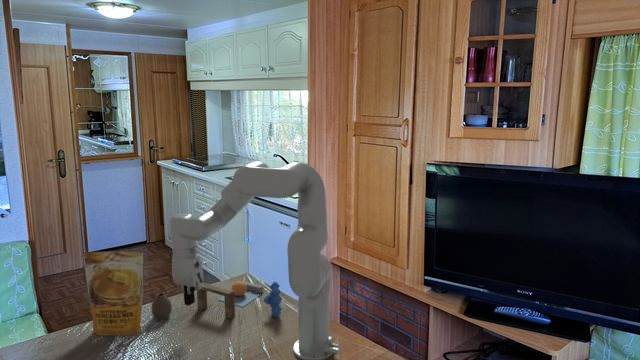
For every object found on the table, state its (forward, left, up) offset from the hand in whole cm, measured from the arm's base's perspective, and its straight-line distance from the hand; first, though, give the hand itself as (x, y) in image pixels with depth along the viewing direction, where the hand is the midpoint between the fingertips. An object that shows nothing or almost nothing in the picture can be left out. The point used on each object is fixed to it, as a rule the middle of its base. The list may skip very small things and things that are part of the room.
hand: (189, 303), depth 152 cm
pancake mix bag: (+21, +12, -10) cm, 26 cm away
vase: (+16, -2, -10) cm, 19 cm away
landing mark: (+1, -28, -10) cm, 30 cm away
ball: (+2, -29, -7) cm, 30 cm away
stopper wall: (+1, -35, -10) cm, 37 cm away
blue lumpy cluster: (-18, -23, -10) cm, 31 cm away
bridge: (+1, -14, -10) cm, 17 cm away
